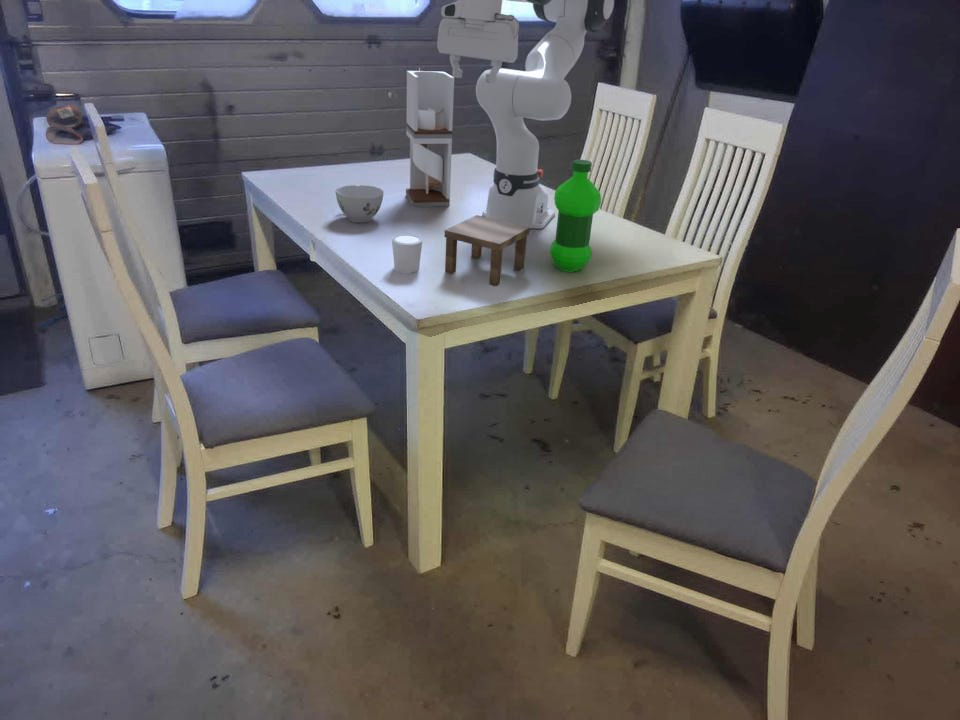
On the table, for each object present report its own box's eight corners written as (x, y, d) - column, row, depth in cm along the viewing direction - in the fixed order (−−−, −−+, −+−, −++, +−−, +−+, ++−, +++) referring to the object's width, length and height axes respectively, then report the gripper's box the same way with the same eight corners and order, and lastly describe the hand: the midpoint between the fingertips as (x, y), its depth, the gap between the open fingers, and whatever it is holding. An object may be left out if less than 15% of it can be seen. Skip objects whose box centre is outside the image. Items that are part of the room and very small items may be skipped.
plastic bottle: (539, 268, 167) (550, 161, 155) (560, 256, 175) (572, 154, 163) (577, 279, 163) (592, 170, 150) (597, 266, 170) (612, 162, 158)
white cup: (428, 268, 163) (428, 239, 160) (406, 276, 159) (406, 246, 155) (407, 260, 167) (407, 231, 164) (385, 267, 162) (385, 238, 159)
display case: (406, 195, 213) (406, 70, 196) (440, 194, 216) (444, 71, 199) (413, 206, 204) (415, 76, 187) (449, 205, 206) (454, 77, 189)
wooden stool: (474, 255, 173) (476, 215, 168) (525, 268, 167) (529, 227, 162) (443, 272, 162) (444, 230, 157) (496, 287, 156) (499, 244, 151)
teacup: (392, 222, 190) (392, 193, 186) (350, 229, 183) (349, 199, 179) (365, 207, 200) (364, 179, 197) (324, 213, 194) (323, 184, 190)
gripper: (528, 17, 150) (519, 86, 156) (453, 10, 161) (447, 75, 166) (511, 13, 146) (502, 85, 151) (435, 7, 156) (430, 74, 162)
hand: (473, 80), depth 159 cm, fingers open, 8 cm apart
